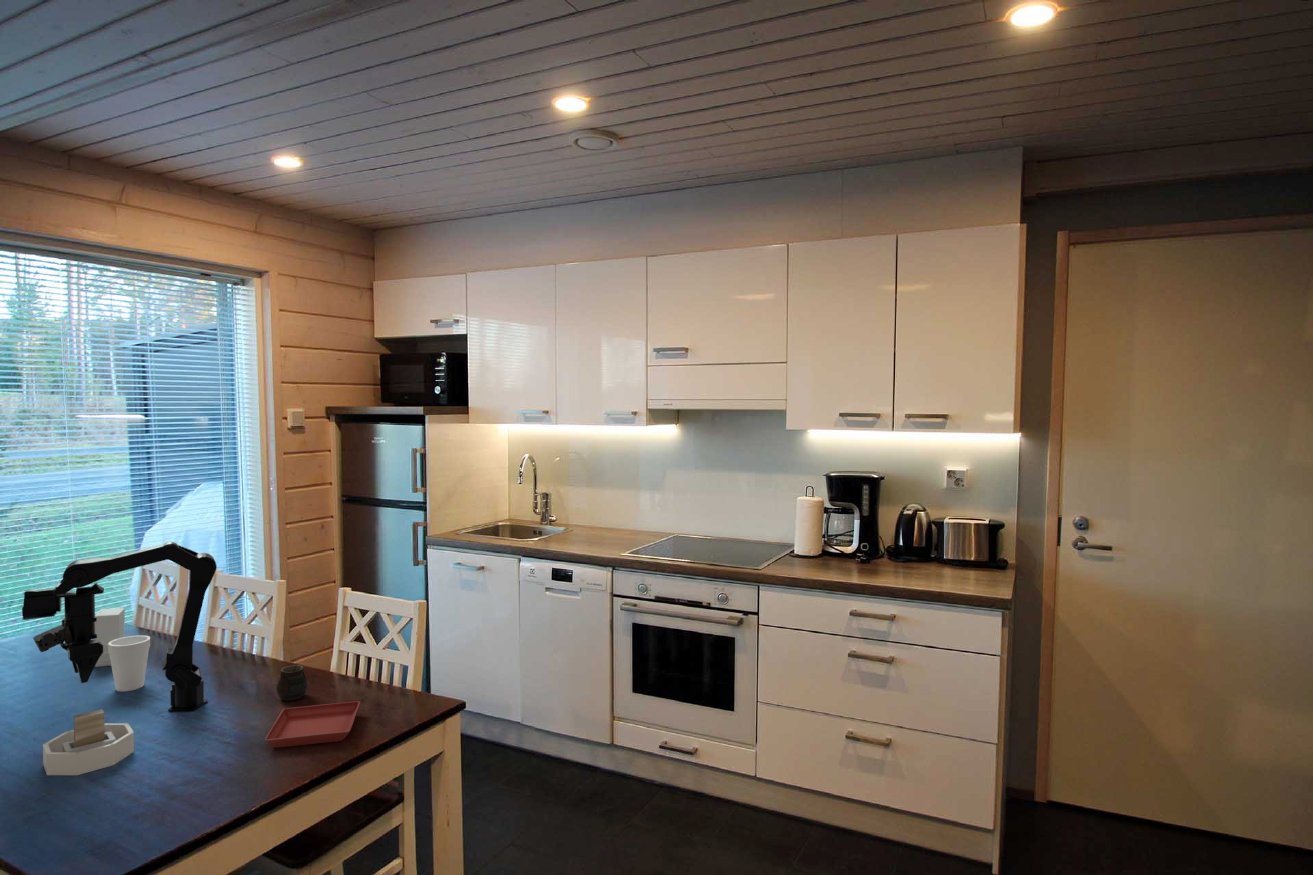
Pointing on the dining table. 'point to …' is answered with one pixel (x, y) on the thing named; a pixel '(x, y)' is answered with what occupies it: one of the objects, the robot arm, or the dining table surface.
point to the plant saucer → (312, 724)
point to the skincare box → (109, 630)
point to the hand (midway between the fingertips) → (81, 677)
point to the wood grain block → (89, 728)
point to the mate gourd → (292, 683)
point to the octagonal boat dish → (88, 751)
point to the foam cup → (129, 661)
